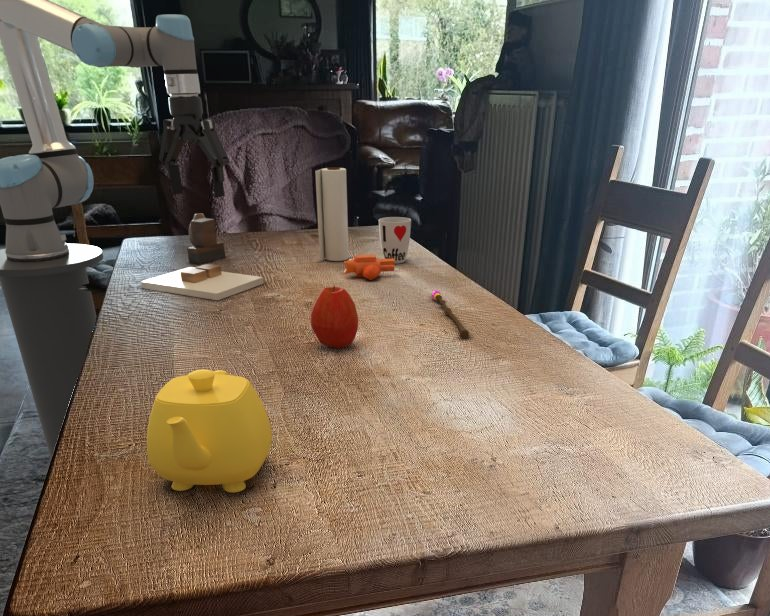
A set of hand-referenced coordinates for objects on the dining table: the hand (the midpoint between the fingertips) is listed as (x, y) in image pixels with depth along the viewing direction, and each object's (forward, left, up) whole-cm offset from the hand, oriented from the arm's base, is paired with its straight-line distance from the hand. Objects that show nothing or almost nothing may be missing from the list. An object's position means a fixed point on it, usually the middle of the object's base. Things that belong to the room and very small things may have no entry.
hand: (198, 195), depth 175 cm
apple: (+66, -42, -16) cm, 80 cm away
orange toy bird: (+47, +3, -16) cm, 50 cm away
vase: (-11, +11, -16) cm, 22 cm away
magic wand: (+76, -16, -16) cm, 79 cm away
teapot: (+79, -90, -16) cm, 121 cm away
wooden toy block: (0, 0, -16) cm, 16 cm away
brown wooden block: (+16, -22, -14) cm, 31 cm away
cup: (+44, +21, -16) cm, 51 cm away
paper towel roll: (+29, +16, -16) cm, 37 cm away
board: (+17, -21, -16) cm, 31 cm away
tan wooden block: (+16, -17, -14) cm, 27 cm away
